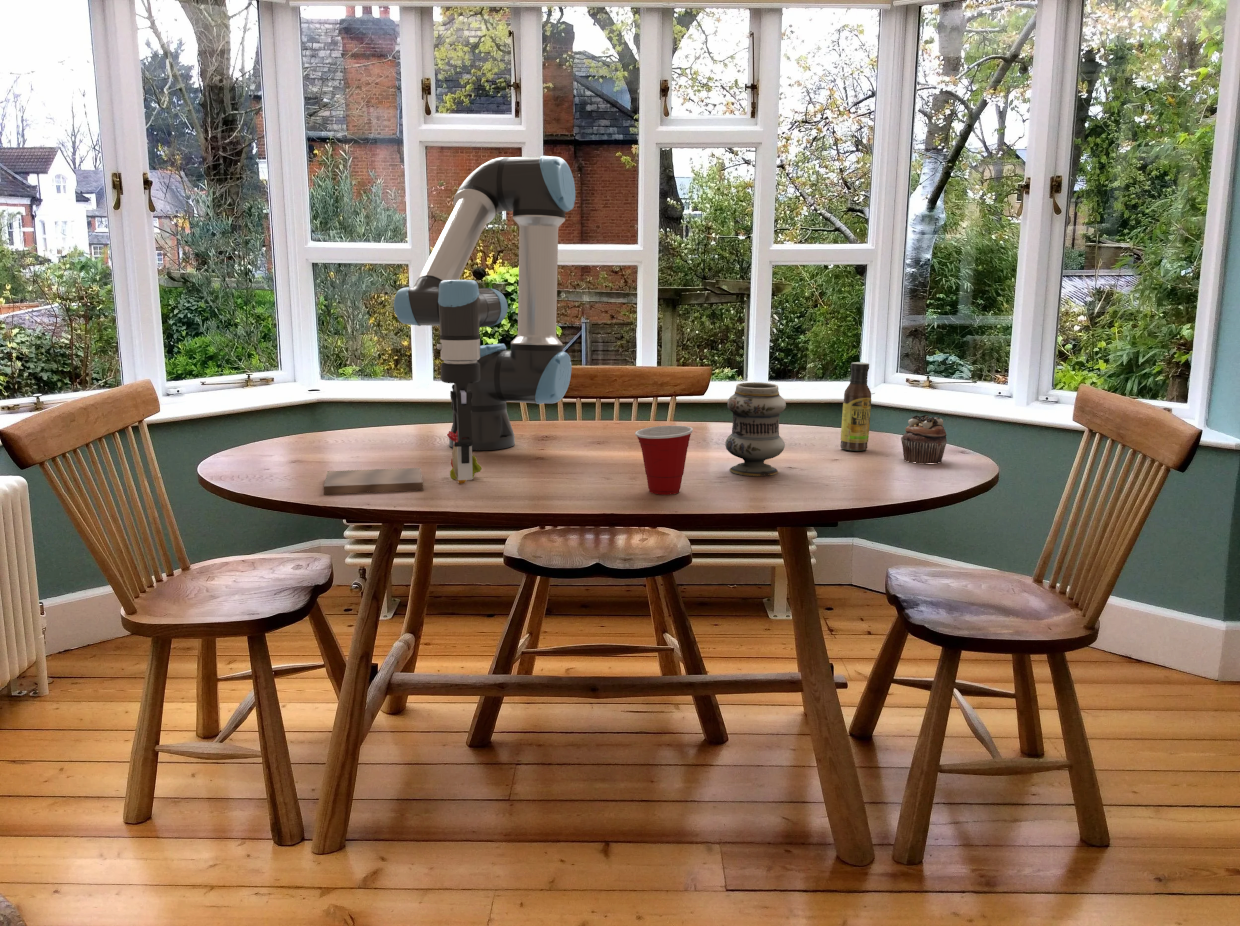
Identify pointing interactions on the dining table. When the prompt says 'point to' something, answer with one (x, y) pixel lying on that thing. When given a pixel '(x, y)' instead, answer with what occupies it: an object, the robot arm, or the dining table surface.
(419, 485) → the walnut board
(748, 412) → the apothecary jar
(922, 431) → the cupcake
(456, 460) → the bird rattle
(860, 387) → the sauce bottle
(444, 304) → the robot arm
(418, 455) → the dining table surface
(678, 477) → the plastic cup
